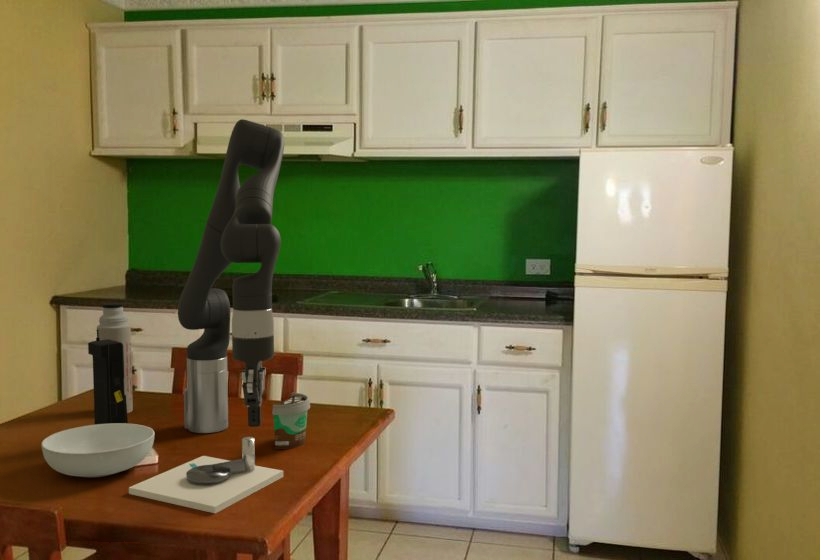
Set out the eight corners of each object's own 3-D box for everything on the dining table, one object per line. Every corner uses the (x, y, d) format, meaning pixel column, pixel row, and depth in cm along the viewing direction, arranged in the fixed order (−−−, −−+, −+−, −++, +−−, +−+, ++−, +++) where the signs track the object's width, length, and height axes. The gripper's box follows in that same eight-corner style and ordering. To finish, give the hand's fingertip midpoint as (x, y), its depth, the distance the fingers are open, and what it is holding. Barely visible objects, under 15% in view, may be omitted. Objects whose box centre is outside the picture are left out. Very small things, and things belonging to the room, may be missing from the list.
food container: (299, 452, 161) (299, 407, 160) (272, 450, 162) (272, 405, 162) (317, 435, 173) (317, 393, 172) (292, 434, 174) (292, 391, 174)
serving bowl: (175, 457, 158) (174, 425, 157) (114, 493, 137) (113, 457, 137) (88, 449, 162) (87, 418, 162) (17, 483, 142) (15, 448, 141)
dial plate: (128, 493, 137) (128, 486, 137) (203, 461, 155) (203, 455, 155) (215, 513, 129) (215, 506, 128) (283, 476, 146) (283, 470, 146)
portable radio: (133, 442, 167) (130, 331, 165) (106, 448, 163) (103, 334, 160) (116, 435, 172) (113, 327, 170) (90, 441, 168) (87, 330, 166)
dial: (194, 487, 136) (194, 455, 136) (180, 474, 143) (180, 443, 142) (262, 473, 144) (262, 443, 143) (246, 462, 150) (246, 432, 150)
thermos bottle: (137, 407, 197) (134, 301, 194) (125, 415, 189) (122, 305, 186) (107, 407, 197) (104, 301, 194) (94, 415, 189) (90, 305, 186)
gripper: (269, 338, 131) (271, 435, 133) (277, 327, 144) (278, 415, 146) (226, 339, 131) (228, 436, 132) (237, 328, 144) (239, 416, 145)
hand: (254, 425), depth 139 cm, fingers closed
